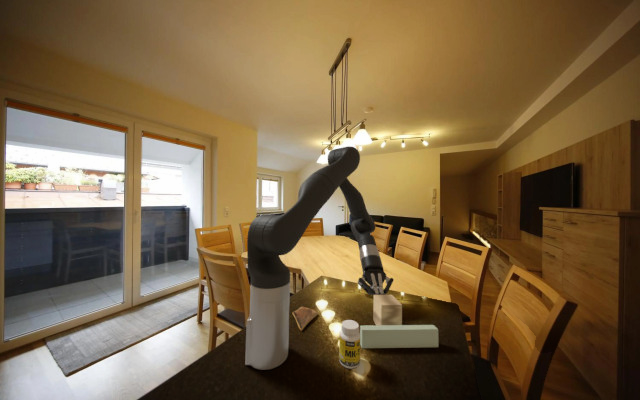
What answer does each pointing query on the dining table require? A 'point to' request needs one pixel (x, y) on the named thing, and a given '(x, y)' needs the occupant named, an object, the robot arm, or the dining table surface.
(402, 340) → the sage fence board
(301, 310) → the shard
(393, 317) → the birch block
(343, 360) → the supplement bottle
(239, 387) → the dining table surface
